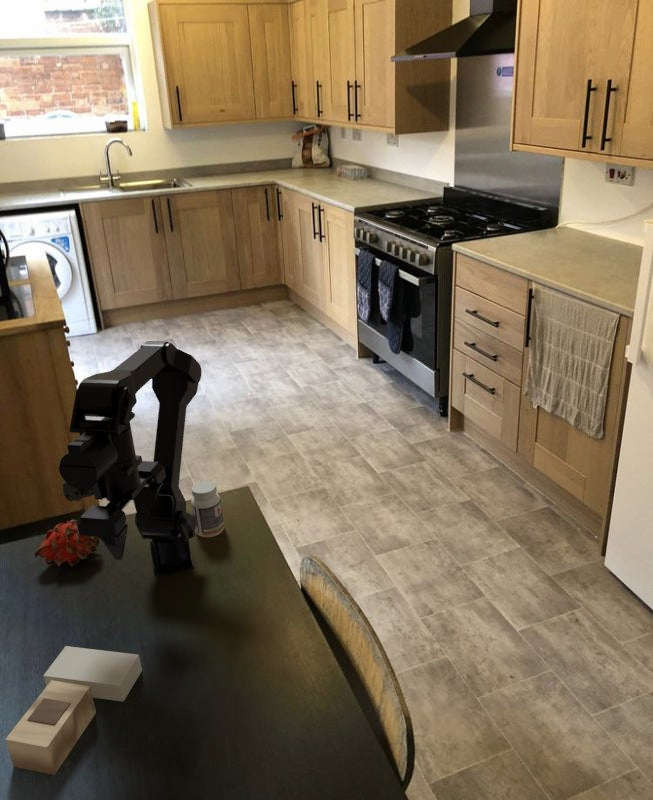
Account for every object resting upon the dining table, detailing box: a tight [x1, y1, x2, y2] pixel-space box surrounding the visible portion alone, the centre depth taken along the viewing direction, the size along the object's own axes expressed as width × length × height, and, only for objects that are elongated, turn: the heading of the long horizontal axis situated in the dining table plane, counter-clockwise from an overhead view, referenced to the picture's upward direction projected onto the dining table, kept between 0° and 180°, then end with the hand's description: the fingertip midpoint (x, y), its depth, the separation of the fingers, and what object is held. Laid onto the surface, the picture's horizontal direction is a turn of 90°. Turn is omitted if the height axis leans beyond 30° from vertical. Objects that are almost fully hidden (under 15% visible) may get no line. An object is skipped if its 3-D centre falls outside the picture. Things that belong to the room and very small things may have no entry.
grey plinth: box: [42, 645, 143, 703], centre depth 102 cm, size 6×12×3 cm, turn 78°
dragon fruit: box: [34, 519, 100, 567], centre depth 130 cm, size 8×8×12 cm
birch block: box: [5, 680, 97, 775], centre depth 93 cm, size 5×6×10 cm
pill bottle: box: [190, 480, 225, 538], centre depth 136 cm, size 6×6×10 cm
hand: (132, 542), depth 112 cm, fingers open, 9 cm apart
